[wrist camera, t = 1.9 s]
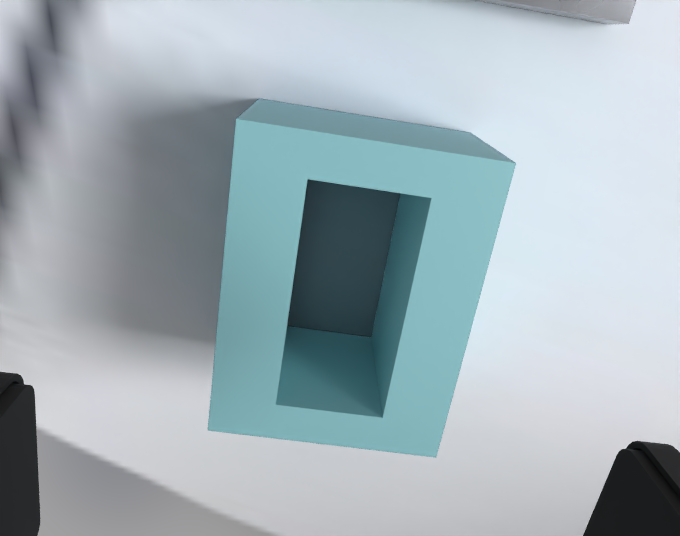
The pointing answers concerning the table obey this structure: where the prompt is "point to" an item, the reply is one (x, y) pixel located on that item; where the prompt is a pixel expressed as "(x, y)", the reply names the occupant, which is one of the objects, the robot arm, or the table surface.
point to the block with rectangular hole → (396, 292)
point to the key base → (578, 8)
